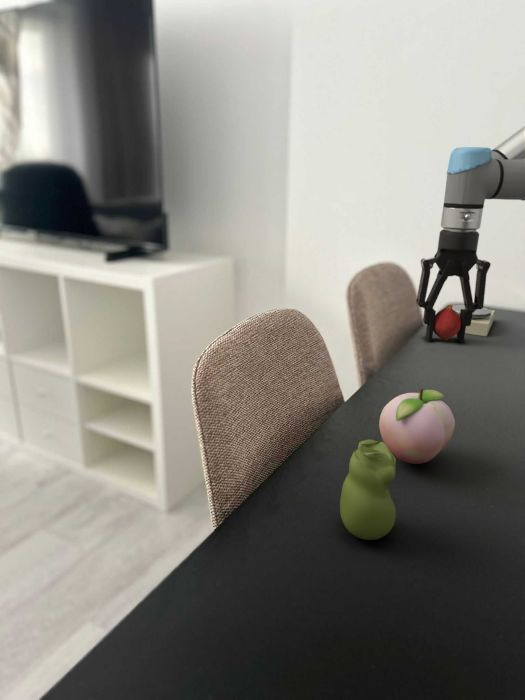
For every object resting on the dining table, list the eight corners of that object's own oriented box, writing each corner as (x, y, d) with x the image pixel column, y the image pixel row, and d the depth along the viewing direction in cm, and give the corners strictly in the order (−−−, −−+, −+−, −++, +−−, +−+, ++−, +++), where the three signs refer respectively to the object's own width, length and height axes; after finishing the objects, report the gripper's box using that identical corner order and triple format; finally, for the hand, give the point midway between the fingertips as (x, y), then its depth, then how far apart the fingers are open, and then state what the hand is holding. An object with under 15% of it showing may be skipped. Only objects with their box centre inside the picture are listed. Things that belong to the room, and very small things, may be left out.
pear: (332, 516, 53) (339, 430, 50) (382, 514, 54) (392, 428, 50) (346, 553, 48) (354, 460, 45) (401, 551, 48) (413, 458, 45)
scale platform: (452, 305, 126) (452, 302, 125) (492, 311, 122) (493, 307, 121) (445, 314, 118) (446, 310, 118) (488, 319, 114) (489, 316, 114)
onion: (430, 343, 108) (435, 306, 106) (429, 335, 114) (433, 300, 111) (459, 345, 107) (465, 308, 105) (456, 337, 113) (462, 302, 110)
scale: (452, 316, 130) (454, 302, 129) (492, 322, 126) (495, 308, 125) (441, 330, 119) (444, 315, 117) (486, 337, 114) (489, 321, 113)
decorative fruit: (396, 437, 69) (404, 368, 66) (456, 459, 64) (468, 386, 61) (361, 465, 63) (368, 390, 59) (425, 491, 58) (436, 411, 54)
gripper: (415, 230, 100) (403, 343, 107) (515, 233, 99) (495, 346, 106) (408, 226, 107) (396, 332, 115) (501, 229, 106) (483, 335, 113)
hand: (444, 339), depth 110 cm, fingers closed on onion, 6 cm apart
